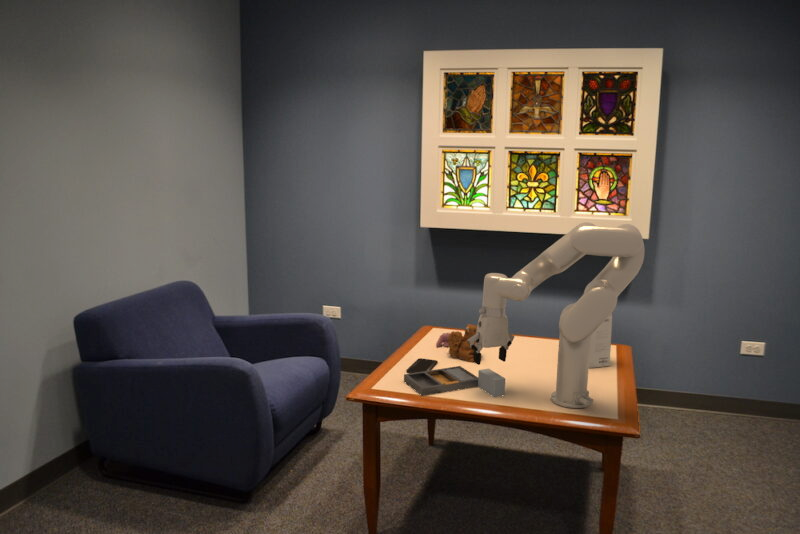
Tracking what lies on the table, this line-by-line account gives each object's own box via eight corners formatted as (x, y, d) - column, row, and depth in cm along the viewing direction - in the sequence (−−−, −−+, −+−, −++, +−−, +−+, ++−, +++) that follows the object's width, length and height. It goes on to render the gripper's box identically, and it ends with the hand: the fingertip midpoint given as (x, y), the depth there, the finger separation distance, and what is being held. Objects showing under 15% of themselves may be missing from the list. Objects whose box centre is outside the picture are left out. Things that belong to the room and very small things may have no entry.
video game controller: (460, 353, 248) (464, 336, 249) (456, 351, 244) (460, 333, 246) (439, 348, 253) (443, 332, 254) (434, 346, 249) (438, 329, 251)
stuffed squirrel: (480, 363, 231) (482, 329, 229) (443, 359, 235) (444, 326, 233) (484, 355, 241) (486, 322, 238) (449, 351, 244) (450, 319, 242)
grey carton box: (598, 360, 237) (602, 309, 233) (610, 366, 230) (614, 314, 226) (562, 363, 233) (565, 311, 229) (572, 370, 226) (576, 317, 222)
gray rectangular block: (504, 395, 201) (505, 378, 200) (494, 397, 200) (495, 380, 199) (487, 385, 210) (488, 368, 209) (477, 387, 209) (478, 370, 207)
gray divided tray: (480, 386, 209) (480, 378, 208) (422, 395, 200) (422, 387, 199) (459, 372, 221) (459, 365, 221) (403, 381, 212) (404, 373, 212)
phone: (438, 360, 232) (426, 373, 218) (438, 363, 232) (426, 376, 218) (418, 357, 234) (405, 370, 221) (418, 360, 235) (405, 373, 221)
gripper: (476, 316, 193) (472, 368, 196) (522, 312, 200) (518, 362, 204) (464, 310, 200) (460, 360, 203) (509, 306, 207) (505, 355, 210)
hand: (489, 361), depth 203 cm, fingers open, 9 cm apart
